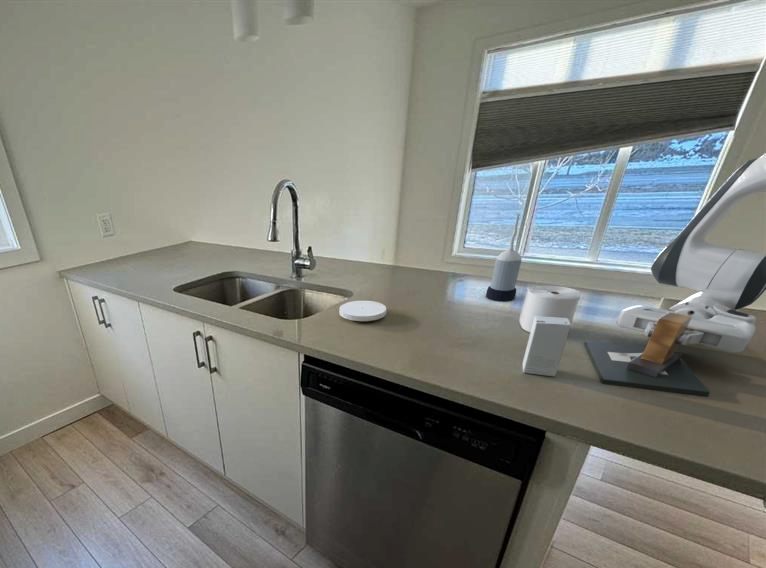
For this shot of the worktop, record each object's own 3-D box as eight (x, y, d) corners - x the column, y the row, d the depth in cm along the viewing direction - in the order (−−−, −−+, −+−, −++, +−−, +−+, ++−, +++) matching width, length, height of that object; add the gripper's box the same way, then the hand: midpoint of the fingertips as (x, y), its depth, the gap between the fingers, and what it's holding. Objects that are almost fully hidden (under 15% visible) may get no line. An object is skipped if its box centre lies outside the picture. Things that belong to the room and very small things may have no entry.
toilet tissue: (564, 340, 100) (577, 301, 95) (510, 330, 108) (519, 293, 103) (572, 325, 107) (584, 289, 102) (520, 317, 114) (529, 282, 109)
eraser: (679, 359, 86) (704, 313, 81) (656, 377, 81) (680, 329, 76) (650, 351, 90) (671, 307, 84) (626, 368, 85) (647, 321, 79)
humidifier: (491, 291, 134) (508, 211, 122) (518, 296, 129) (540, 212, 116) (481, 298, 130) (498, 215, 117) (509, 303, 124) (530, 216, 112)
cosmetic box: (552, 368, 89) (569, 317, 83) (555, 378, 86) (573, 325, 80) (520, 364, 92) (534, 314, 86) (521, 373, 88) (536, 322, 82)
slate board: (670, 351, 91) (672, 347, 91) (707, 396, 76) (710, 391, 75) (583, 343, 98) (585, 339, 97) (601, 383, 83) (603, 379, 82)
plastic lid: (384, 325, 117) (385, 317, 116) (336, 323, 122) (336, 315, 120) (386, 308, 129) (387, 301, 127) (342, 307, 133) (342, 300, 132)
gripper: (638, 295, 94) (610, 309, 88) (768, 318, 78) (744, 338, 73) (627, 320, 97) (599, 336, 91) (751, 348, 81) (727, 368, 76)
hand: (665, 337), depth 82 cm, fingers closed on eraser, 3 cm apart
